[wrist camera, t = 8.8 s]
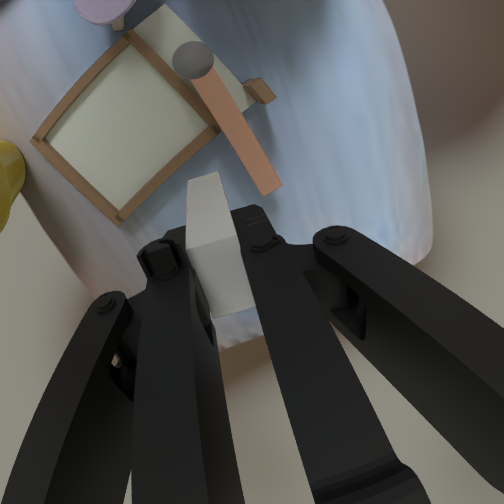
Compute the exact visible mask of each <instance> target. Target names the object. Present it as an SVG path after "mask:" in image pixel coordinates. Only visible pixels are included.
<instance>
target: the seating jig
mask: <svg viewBox="0 0 504 504" xmlns="http://www.w3.org/2000/svg"><path fill="white" fill-rule="evenodd" d="M190 41H199V42H202V43H204V42H203V41H202V40H201V39H200V38H199V37H198V36H197V35H196V34H195V33H194V32H193V31H192V30H191V29H190V28H189V27H188V26H187V25H186V24H185V23H184V22H183V21H182V20H181V19H180V18H179V17H178V16H177V15H176V14H175V13H174V12H173V11H172V10H171V9H170V8H169V7H168V6H167V5H166V4H163V5H162V6H161V7H159V8H158V9H157V10H156V11H154V12H153V13H152V14H151V15H149V16H148V17H147V18H146V19H144V20H143V21H142V22H141V23H140V24H138V25H137V26H136V27H135V28H134V29H129V30H128V31H127V32H126V33H125V34H124V35H123V36H122V37H120V38H119V39H118V40H117V41H116V42H115V43H114V44H113V45H112V46H111V47H110V48H109V49H108V50H107V51H106V52H105V53H104V54H103V55H102V56H101V57H100V58H99V59H98V60H97V61H96V62H95V63H94V64H93V65H92V66H91V67H90V68H89V69H88V70H87V71H86V72H85V73H84V74H83V75H82V76H81V77H80V79H79V80H78V81H77V82H76V83H75V84H74V85H73V86H72V88H71V89H70V90H69V91H68V92H67V93H66V95H65V96H64V97H63V98H62V99H61V101H60V102H59V103H58V104H57V105H56V107H55V108H54V109H53V110H52V112H51V113H50V114H49V116H48V117H47V118H46V119H45V121H44V122H43V123H42V125H41V126H40V127H39V129H38V130H37V132H36V133H35V134H34V136H33V137H32V139H31V140H30V142H31V144H32V145H33V146H34V147H35V148H36V149H37V150H38V151H39V152H40V153H41V154H42V155H43V156H44V157H45V158H46V159H47V160H48V161H49V162H50V163H51V164H52V165H53V166H54V167H55V168H56V169H57V170H58V171H59V172H60V173H61V174H62V175H63V176H64V177H65V178H66V179H67V180H68V181H69V182H70V183H72V184H73V185H74V186H75V187H76V188H77V189H78V190H79V191H80V192H81V193H82V194H83V195H84V196H85V197H86V198H87V199H88V200H89V201H90V202H92V203H93V204H94V205H95V206H96V207H97V208H98V209H99V210H100V211H101V212H102V213H103V214H105V215H106V216H107V217H108V218H109V219H110V220H111V221H112V222H113V223H114V224H116V225H117V226H118V227H119V226H120V225H121V224H122V223H123V222H124V221H125V220H126V219H127V218H128V217H129V216H130V215H131V214H132V213H133V212H134V211H135V210H136V209H137V208H138V207H139V206H140V205H141V204H142V203H143V202H144V201H145V200H146V199H147V198H148V197H149V196H150V195H151V194H152V193H153V192H154V191H155V190H156V189H157V188H158V187H159V186H160V185H161V184H162V183H163V182H165V181H166V180H167V179H168V178H169V177H170V176H171V175H172V174H173V173H174V172H175V171H176V170H177V169H179V168H180V167H181V166H182V165H183V164H184V163H185V162H186V161H187V160H189V159H190V158H191V157H192V156H193V155H194V154H195V153H196V152H198V151H199V150H200V149H201V148H202V147H203V146H205V145H206V144H207V143H208V142H209V141H210V140H212V139H213V138H214V137H215V136H216V135H217V134H219V133H220V132H221V131H222V129H221V127H220V126H219V124H218V123H217V121H216V119H215V118H214V116H213V115H212V113H211V112H210V110H209V108H208V107H207V105H206V104H205V102H204V101H203V99H202V97H201V96H200V94H199V93H198V91H197V90H196V88H195V87H194V85H193V83H192V82H191V80H188V79H184V78H182V77H181V76H179V75H178V74H177V73H176V72H175V70H174V68H173V65H172V58H173V54H174V52H175V51H176V49H177V48H178V47H179V46H181V45H182V44H184V43H186V42H190ZM204 44H205V43H204ZM213 55H214V63H213V68H214V69H215V71H216V72H217V74H218V76H219V77H220V79H221V80H222V82H223V84H224V85H225V87H226V88H227V90H228V92H229V93H230V95H231V97H232V98H233V100H234V102H235V103H236V105H237V106H238V108H239V110H240V111H241V113H242V112H243V111H245V110H246V109H247V108H249V107H250V106H251V105H252V104H254V103H255V102H259V103H263V104H266V105H267V104H269V103H270V102H271V101H273V100H274V99H275V98H276V96H275V94H274V93H273V92H272V91H271V89H270V88H269V87H268V86H267V85H266V83H265V82H264V81H263V80H262V78H257V79H249V80H247V81H246V82H245V83H244V84H242V85H241V83H240V82H239V81H238V80H237V79H236V78H235V76H234V75H233V74H232V73H231V72H230V71H229V70H228V68H227V67H226V66H225V65H224V64H223V63H222V62H221V61H220V60H219V58H218V57H217V56H216V55H215V54H214V53H213Z"/></svg>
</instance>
